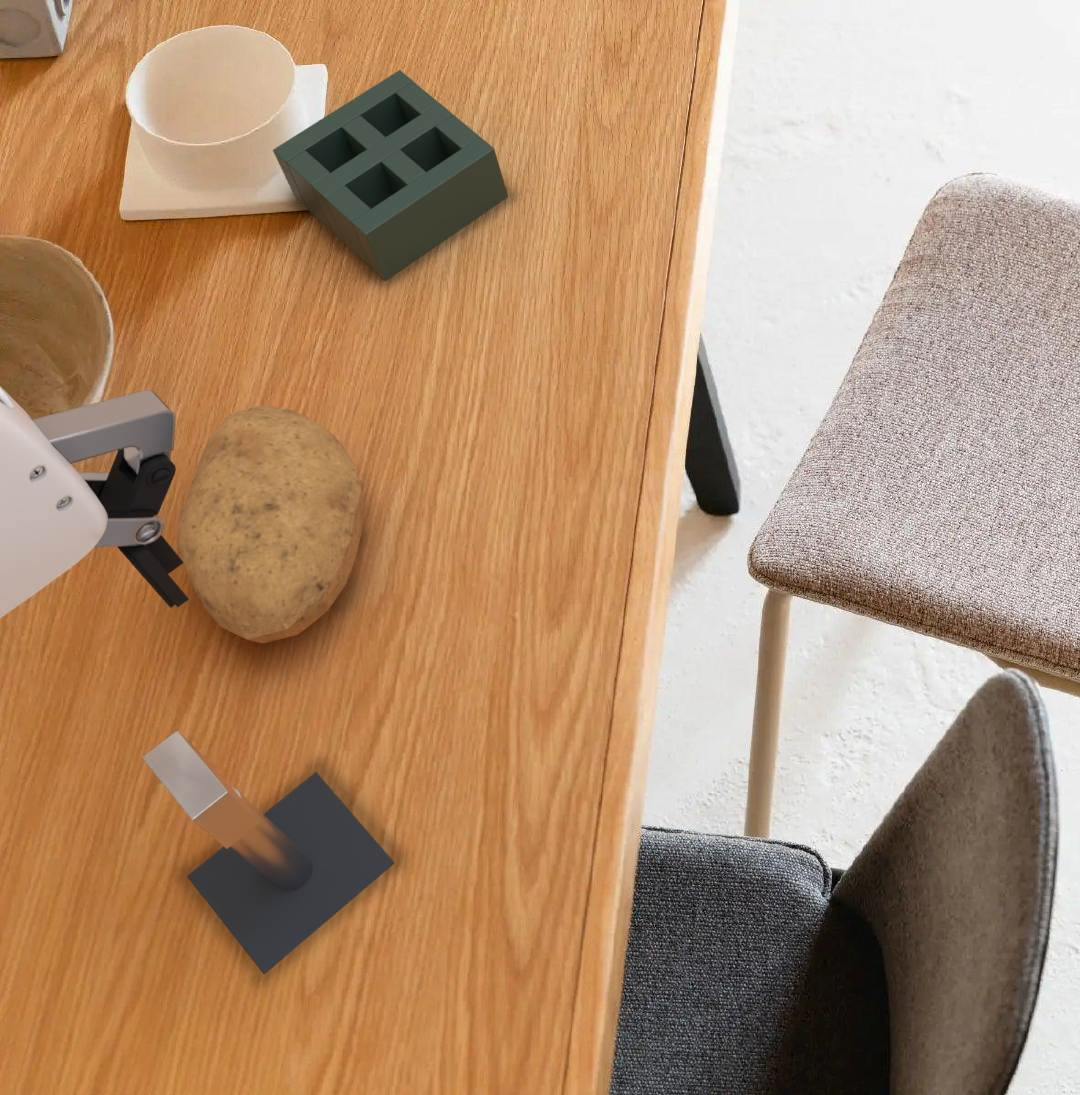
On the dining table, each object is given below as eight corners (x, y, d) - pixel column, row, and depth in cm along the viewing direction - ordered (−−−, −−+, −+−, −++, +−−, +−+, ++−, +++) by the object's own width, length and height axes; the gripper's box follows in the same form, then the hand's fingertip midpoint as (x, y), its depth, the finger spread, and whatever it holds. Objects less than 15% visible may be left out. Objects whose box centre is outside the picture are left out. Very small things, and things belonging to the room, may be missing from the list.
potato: (200, 686, 81) (139, 621, 74) (222, 472, 87) (167, 394, 80) (378, 666, 81) (334, 600, 74) (386, 455, 88) (346, 376, 81)
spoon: (254, 857, 75) (139, 758, 63) (286, 831, 76) (179, 728, 64) (299, 912, 74) (190, 822, 61) (331, 885, 74) (230, 790, 62)
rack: (297, 203, 98) (272, 149, 93) (419, 125, 101) (399, 69, 97) (387, 287, 94) (365, 234, 90) (510, 202, 98) (494, 148, 93)
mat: (190, 879, 75) (186, 876, 75) (319, 775, 78) (315, 771, 77) (268, 977, 73) (263, 974, 72) (397, 866, 75) (394, 862, 75)
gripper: (-26, 154, 43) (192, 462, 58) (-638, 508, 37) (-220, 749, 52) (110, 297, 41) (302, 580, 56) (-524, 702, 35) (-119, 896, 50)
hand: (48, 662), depth 54 cm, fingers open, 9 cm apart
